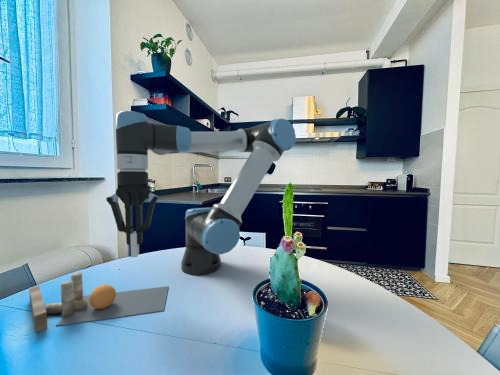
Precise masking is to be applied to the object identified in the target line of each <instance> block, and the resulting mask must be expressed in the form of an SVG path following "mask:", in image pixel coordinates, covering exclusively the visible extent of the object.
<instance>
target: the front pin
mask: <svg viewBox="0 0 500 375" xmlns="http://www.w3.org/2000/svg"><path fill="white" fill-rule="evenodd" d="M86 306H87V299H83V300H75V301H74V310H80V309H85V307H86ZM45 308H46V312H47V315H50V314H52V315H53V314H57V313H62V303H61V302H53V303H47V304H46V305H45Z"/></svg>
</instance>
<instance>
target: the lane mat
mask: <svg viewBox="0 0 500 375" xmlns="http://www.w3.org/2000/svg"><path fill="white" fill-rule="evenodd" d="M168 290H169V286H159V287H151V288H150V287H149V288H141V289H133V290H124V291H123V290H122V291H116V297H115V300H114V301H113V303H112V304H111V305H110V306H108V307H107V308H104V309H95V308H93V307H92V306H91V305H90V302H89V298H90V295H91V294H90V295H83V299H87V306H86V307H85V309H80V310H74V314H73V315H72V316H70V317H66V318H62V317H61V319H60V320H59V321H58V322H57V323H56V324H55V326H56V327H60V326H67V325H75V324H82V323H89V322H96V321H103V320H111V319H115V318H116V319H117V318H122V317H123V318H125V317H130V316H137V315H138V316H139V315H145V314H153V313H159V312H164V310H165V307H166V302H167V301H166V300H167V295H168V292H167V291H168Z"/></svg>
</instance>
